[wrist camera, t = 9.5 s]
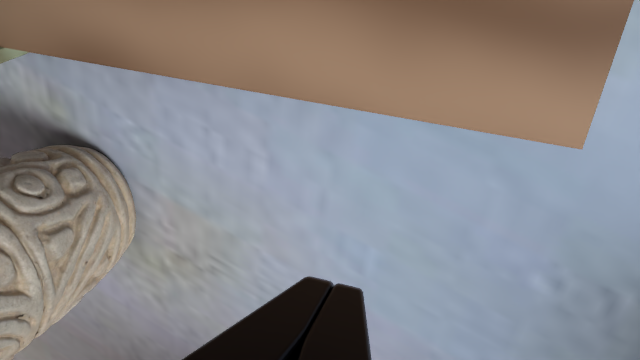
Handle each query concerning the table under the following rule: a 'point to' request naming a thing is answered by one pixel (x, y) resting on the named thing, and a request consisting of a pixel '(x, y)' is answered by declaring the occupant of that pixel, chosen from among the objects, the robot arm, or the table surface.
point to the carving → (56, 235)
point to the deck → (356, 53)
